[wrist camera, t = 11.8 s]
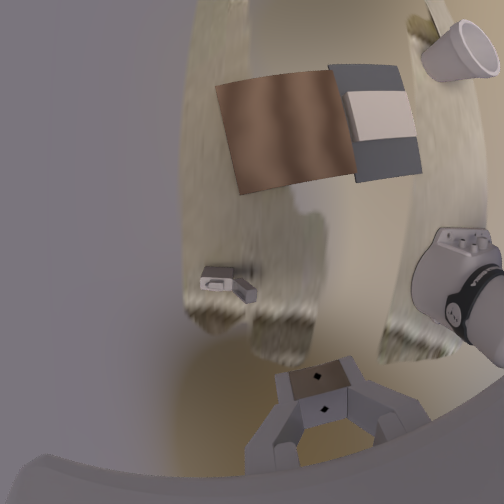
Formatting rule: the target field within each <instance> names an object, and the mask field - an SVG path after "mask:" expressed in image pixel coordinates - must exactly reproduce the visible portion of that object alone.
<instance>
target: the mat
mask: <svg viewBox="0 0 504 504" xmlns="http://www.w3.org/2000/svg"><path fill="white" fill-rule="evenodd" d="M328 68H329V70H333V73H334V77H335V80H336V83H337V87H338V90H339V94H340V97H341V96H342V95H344V94H345V93H346V92H353V91H405V89H404V86H403V83H402V80H401V76H400V73H399V70H398V68H397V66H392V65H372V64H336V65H335V64H333V65H328ZM341 101H342V98H341ZM342 105H343V101H342ZM343 108H344V105H343ZM344 112H345V109H344ZM345 116H346V113H345ZM346 120H347V116H346ZM347 125H348V121H347ZM348 129H349V125H348ZM349 133H350V129H349ZM350 138H351V133H350ZM351 142H352V138H351ZM352 147H353V152H354V157H355V162H356V167H357V173H354V176H355V182H356V183H360V182H366V181H372V180H378V179H386V178H392V177H399V176H406V175H414V174H421V173H422V167H421V160H420V154H419V149H418V143H417V138H416V137H410V138H397V139H385V140H374V141H364V142H355V143H353V142H352Z"/></svg>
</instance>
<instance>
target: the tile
mask: <svg viewBox="0 0 504 504" xmlns="http://www.w3.org/2000/svg"><path fill="white" fill-rule="evenodd" d="M341 98H342V101H343V105H344V109H345V113H346V116H347V121H348V125H349V129H350V133H351V138H352V142H353V143H355V142H364V141H374V140H385V139H397V138H410V137H416V136H417V133H416V128H415V124H414V119H413V115H412V111H411V107H410V103H409V100H408V96H407V93H406V91H353V92H346V93H345V94H344V95H342V96H341Z"/></svg>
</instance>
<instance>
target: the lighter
mask: <svg viewBox="0 0 504 504" xmlns="http://www.w3.org/2000/svg"><path fill="white" fill-rule="evenodd" d="M233 273H234V269H233V268H228V267H205V268H204V270H203V273H202V275H201V278H200V288H201V289H202V290H209V291H231V290H232V292H233V293H235V294H236V295H237V296H238V297H239V298H240V299H241V300H242V301H243V302H244V303H245V304H248V303H253V302H256V298H257V289H256V288H255V287H253V286H252V285H251V284H250V283H248V282H247V281H246V280H244V279H243V278H237V279H233Z"/></svg>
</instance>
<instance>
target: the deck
mask: <svg viewBox="0 0 504 504" xmlns="http://www.w3.org/2000/svg"><path fill="white" fill-rule="evenodd" d="M215 88H216V92H217V97H218V101H219V105H220V110H221V114H222V118H223V123H224V127H225V132H226V136H227V140H228V145H229V149H230V153H231V158H232V162H233V167H234V171H235V175H236V180H237V184H238V188H239V193H240V195H244V194H248V193H253V192H257V191H262V190H267V189H271V188H276V187H281V186H286V185H291V184H296V183H302V182H307V181H312V180H318V179H323V178H329V177H335V176H341V175H348V174H354V173H357V167H356V162H355V157H354V152H353V147H352V142H351V138H350V133H349V129H348V125H347V120H346V116H345V112H344V108H343V105H342V101H341V97H340V94H339V90H338V87H337V83H336V80H335V77H334V73H333V70H321V71H308V72H297V73H288V74H280V75H273V76H266V77H260V78H253V79H248V80H242V81H237V82H232V83H228V84H223V85H219V86H215Z"/></svg>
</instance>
